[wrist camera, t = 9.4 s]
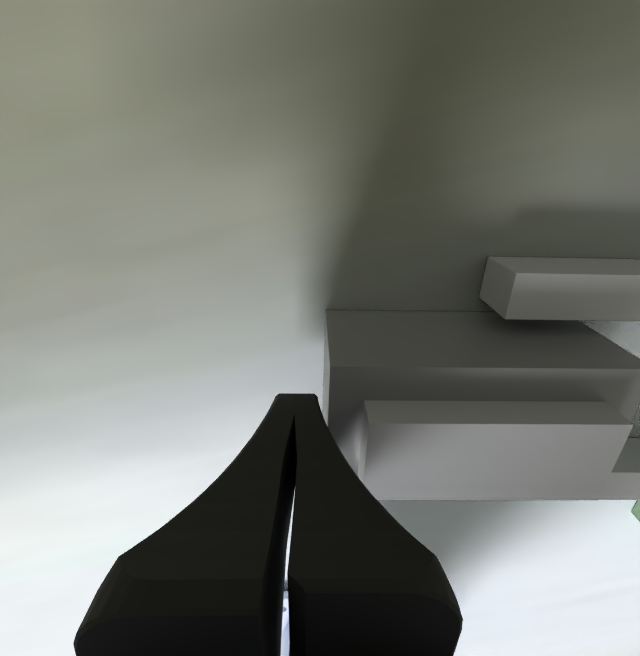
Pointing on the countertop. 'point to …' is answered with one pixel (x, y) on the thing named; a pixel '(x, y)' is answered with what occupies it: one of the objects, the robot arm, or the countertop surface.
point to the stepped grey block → (476, 404)
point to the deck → (572, 318)
